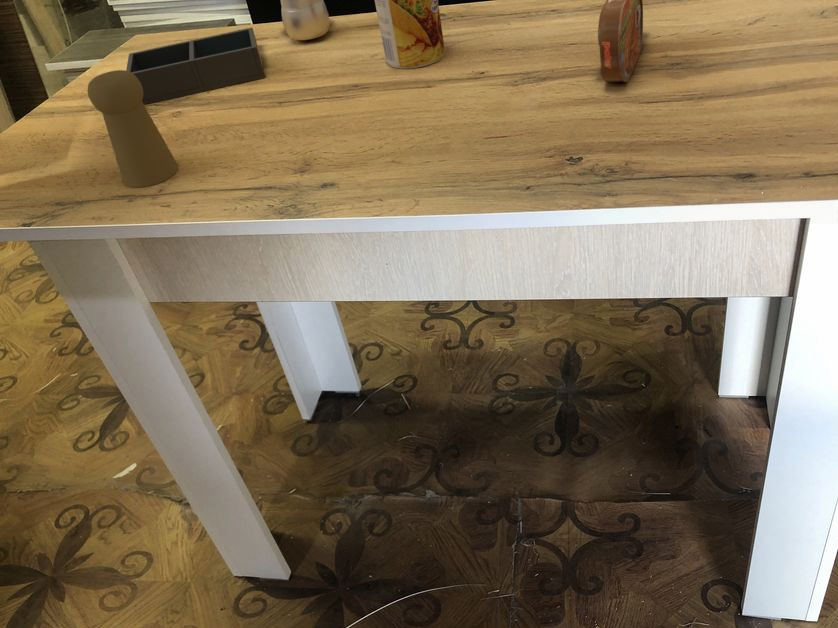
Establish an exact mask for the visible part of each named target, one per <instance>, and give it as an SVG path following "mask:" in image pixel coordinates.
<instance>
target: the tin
mask: <svg viewBox="0 0 838 628" xmlns="http://www.w3.org/2000/svg"><path fill="white" fill-rule="evenodd" d="M598 19H599V20H598V26H597V27H598V29H597V41H598V42H597V43H598V46H599V57H600V58H599V59H600V76H601V78H602V80H603V81H604V82H606V83H617V82H619V83H621V82H623V83H628V82H629V81H630V78H631V76H632V74H633V71H634V68H635V66H636V64H637V62H638V59H639V57H640V55H641V50H642V44H643V35H644V34H643V33H644V3H643V0H605V3H604V4H603V6H602V8H601V11H600V14H599V18H598Z"/></svg>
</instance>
